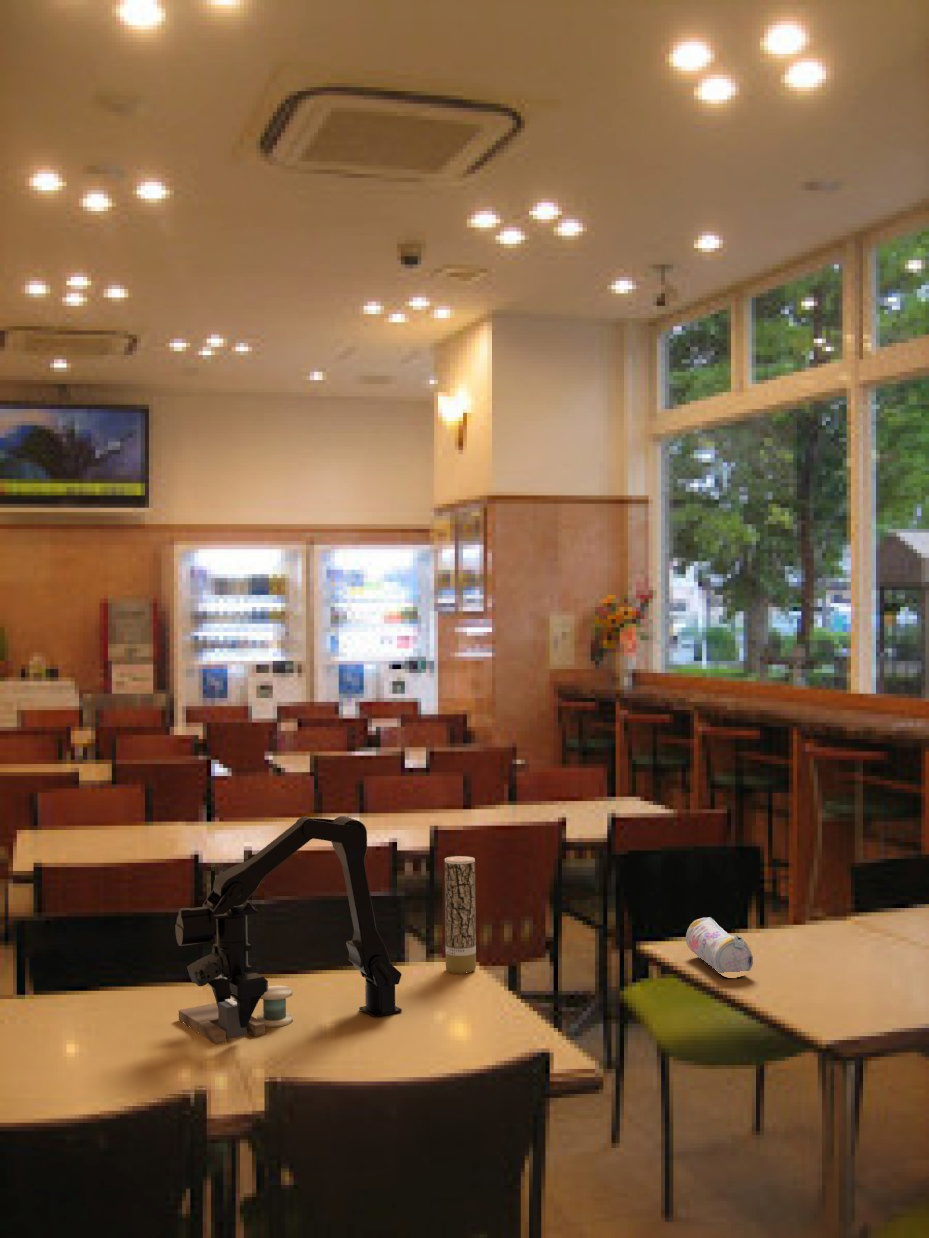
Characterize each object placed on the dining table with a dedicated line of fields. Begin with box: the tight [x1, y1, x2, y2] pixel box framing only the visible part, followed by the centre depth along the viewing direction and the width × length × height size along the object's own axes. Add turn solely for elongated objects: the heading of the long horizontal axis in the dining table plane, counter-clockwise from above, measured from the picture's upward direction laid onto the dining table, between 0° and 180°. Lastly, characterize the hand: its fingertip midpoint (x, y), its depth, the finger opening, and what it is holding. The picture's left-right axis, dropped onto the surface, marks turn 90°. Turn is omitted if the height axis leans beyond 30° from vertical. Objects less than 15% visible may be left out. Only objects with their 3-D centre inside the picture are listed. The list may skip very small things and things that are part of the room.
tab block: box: [218, 998, 248, 1040], centre depth 243 cm, size 4×4×6 cm
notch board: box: [178, 1002, 266, 1045], centre depth 248 cm, size 18×10×2 cm, turn 35°
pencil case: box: [685, 916, 754, 973], centre depth 286 cm, size 21×9×10 cm, turn 10°
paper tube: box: [444, 855, 477, 974], centre depth 286 cm, size 7×7×25 cm
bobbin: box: [256, 985, 294, 1028], centre depth 251 cm, size 7×7×6 cm
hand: (233, 1021), depth 243 cm, fingers open, 9 cm apart
